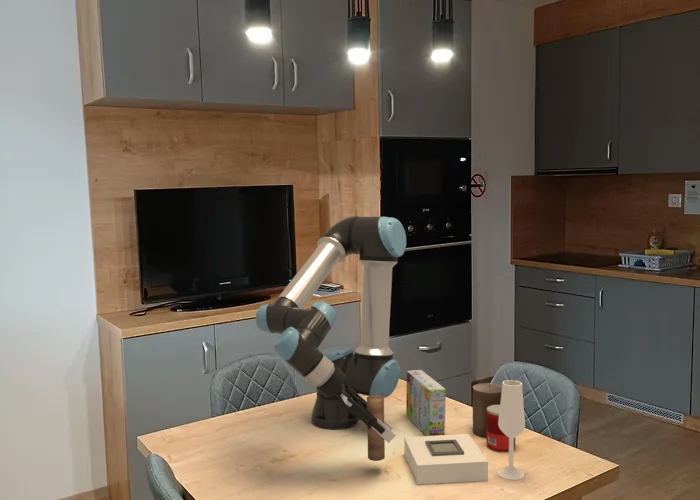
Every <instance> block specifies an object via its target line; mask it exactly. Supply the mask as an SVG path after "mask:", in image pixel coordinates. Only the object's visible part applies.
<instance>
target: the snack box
mask: <svg viewBox="0 0 700 500" xmlns="http://www.w3.org/2000/svg"><path fill="white" fill-rule="evenodd" d="M446 392H447V391H446V388H445V387H443V386H442V385H441V384H440V383H439V382H437V381H436V380H435V379H434V378H432V377H431V376H429V375H428V374H427V373H426V372H425V371H423V369H413V370H407V371H406V401H405V403H406V407H405V408H406V410H405V413H406V414H405V415H406V417H407V418H409V420H410V421H411V422H412V423H413V424H414V425H415V426H416V427H417V428H418V429H419V430H420V432H422V433H423V435H424V436H438V435H446V434H445V433H446V432H445V427H446V423H445V422H446V400H447V399H446V398H447V397H446V395H447V394H446Z"/></svg>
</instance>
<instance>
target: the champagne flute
mask: <svg viewBox="0 0 700 500" xmlns="http://www.w3.org/2000/svg"><path fill="white" fill-rule="evenodd" d="M523 393H524V392H523V383H522V382H521V381H519V380H514V379H513V380H511V379H510V380H509V379H508V380H503V381H502V393H501V402H500V411H499V420H498V426H499V428H500V429H501V431H502V432H503V433H504V434H505V435H506V436H507V437H509V451H508V466H505V467H503V468H500V469H499V470H498V471H497V475H498V476H499V477H501V478H503V479H505V480H511V481H512V480H514V481H516V480H521V479H523V478H524V477H525V473H524V472H523V471H522V470H520V469H518V468H516V467H514V457H515V456H514V449H515V447H514V438H515V439H516V438H517V437H518V436H519V435H521V434H522V433H523V431H524V430H525V428H526V418H525V405H524V395H523Z"/></svg>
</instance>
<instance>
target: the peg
mask: <svg viewBox="0 0 700 500" xmlns="http://www.w3.org/2000/svg"><path fill="white" fill-rule="evenodd" d="M366 402H367V410H368V411H369V412H370V413H371V414H372V415H373V416H374V417H375V418H378V419H379V420H380V421H381V422H382V423H383V424H384V420H385V398H384V397H383V396H380V395H371V396H367V397H366ZM366 429H367V428H366ZM366 432H367V459H368V460H369V461H374V462H380V461H383V460H385V458H386V455H385V454H386V453H385V452H386V451H385V449H386V448H385V446H386V445H385V444H386V443H385V442H386V440H385V439H383V438H382V437H381V436H380V435H379V434H378V433H377V432H376V431H374V430H373V429H372V428H370V429H367V430H366Z"/></svg>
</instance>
